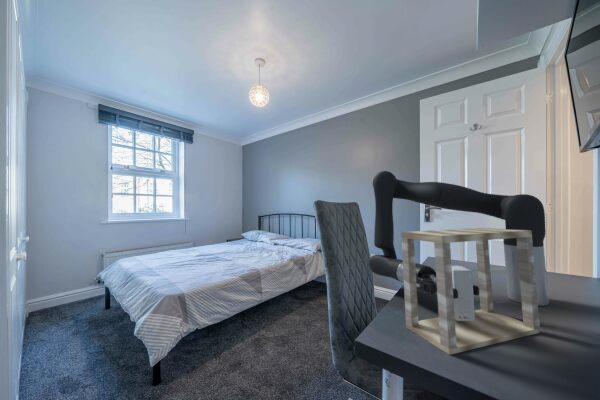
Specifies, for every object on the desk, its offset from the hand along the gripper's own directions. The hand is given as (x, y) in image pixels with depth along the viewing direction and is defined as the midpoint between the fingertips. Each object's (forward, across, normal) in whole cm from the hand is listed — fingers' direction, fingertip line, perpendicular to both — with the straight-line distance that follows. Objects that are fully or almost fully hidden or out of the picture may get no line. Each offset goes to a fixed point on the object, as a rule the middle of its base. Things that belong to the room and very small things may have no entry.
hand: (467, 292), depth 57 cm
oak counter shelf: (0, 0, +9) cm, 9 cm away
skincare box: (-2, 0, +7) cm, 7 cm away
